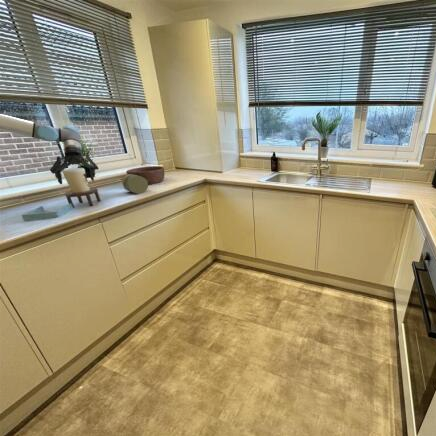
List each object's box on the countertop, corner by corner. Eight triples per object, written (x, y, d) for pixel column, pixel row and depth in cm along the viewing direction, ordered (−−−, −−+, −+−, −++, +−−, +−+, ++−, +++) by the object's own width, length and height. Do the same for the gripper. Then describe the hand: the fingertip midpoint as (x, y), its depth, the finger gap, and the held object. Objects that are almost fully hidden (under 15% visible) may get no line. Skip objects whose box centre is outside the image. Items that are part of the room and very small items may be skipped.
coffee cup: (94, 189, 134) (87, 168, 129) (73, 194, 127) (65, 171, 122) (87, 187, 139) (80, 167, 134) (67, 191, 131) (58, 170, 127)
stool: (64, 209, 128) (58, 195, 125) (78, 202, 140) (73, 188, 137) (94, 206, 131) (89, 192, 128) (105, 199, 144) (101, 186, 141)
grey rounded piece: (141, 188, 166) (137, 172, 161) (149, 191, 159) (145, 174, 155) (123, 192, 157) (118, 175, 153) (131, 195, 151) (126, 177, 147)
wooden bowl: (169, 182, 181) (166, 169, 177) (130, 188, 168) (126, 173, 164) (164, 177, 200) (161, 165, 196) (129, 181, 187) (125, 168, 184)
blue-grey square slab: (24, 220, 114) (21, 215, 113) (43, 211, 126) (40, 206, 125) (58, 217, 117) (55, 211, 116) (73, 208, 129) (71, 203, 128)
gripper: (102, 152, 144) (106, 181, 138) (47, 156, 133) (49, 188, 126) (97, 144, 138) (102, 174, 131) (39, 147, 127) (41, 180, 120)
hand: (76, 181), depth 129 cm, fingers open, 13 cm apart
